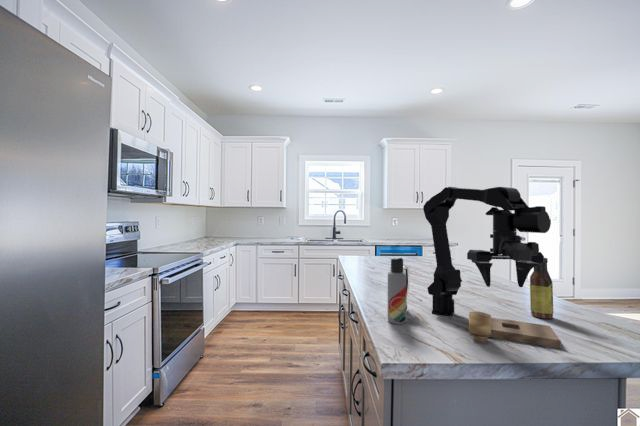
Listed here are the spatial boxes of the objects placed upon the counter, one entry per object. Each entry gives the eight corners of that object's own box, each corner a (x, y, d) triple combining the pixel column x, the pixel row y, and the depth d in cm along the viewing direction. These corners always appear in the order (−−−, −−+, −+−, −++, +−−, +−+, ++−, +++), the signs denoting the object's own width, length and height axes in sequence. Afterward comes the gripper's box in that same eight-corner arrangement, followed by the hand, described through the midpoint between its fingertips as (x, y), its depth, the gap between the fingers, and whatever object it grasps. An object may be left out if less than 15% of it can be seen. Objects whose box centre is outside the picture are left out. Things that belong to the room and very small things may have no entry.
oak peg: (468, 341, 78) (468, 315, 78) (468, 334, 83) (468, 310, 83) (491, 345, 75) (491, 318, 76) (490, 338, 80) (490, 313, 80)
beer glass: (411, 308, 107) (412, 267, 107) (406, 313, 101) (406, 269, 101) (393, 305, 110) (393, 265, 111) (386, 310, 104) (386, 267, 105)
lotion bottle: (403, 325, 89) (403, 259, 90) (384, 322, 92) (385, 257, 93) (408, 320, 94) (408, 257, 95) (390, 317, 97) (391, 256, 98)
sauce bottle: (557, 320, 96) (557, 259, 96) (536, 319, 97) (535, 258, 98) (546, 314, 102) (546, 256, 103) (526, 312, 103) (526, 256, 104)
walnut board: (471, 333, 83) (471, 326, 84) (471, 321, 94) (471, 314, 94) (560, 348, 74) (560, 340, 74) (549, 332, 85) (549, 325, 85)
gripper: (488, 232, 75) (488, 293, 75) (560, 233, 76) (560, 294, 75) (466, 230, 86) (466, 284, 86) (529, 231, 87) (529, 284, 86)
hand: (504, 286), depth 83 cm, fingers open, 9 cm apart
